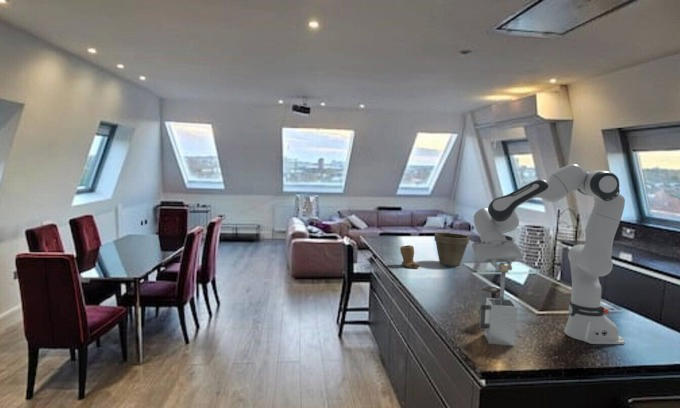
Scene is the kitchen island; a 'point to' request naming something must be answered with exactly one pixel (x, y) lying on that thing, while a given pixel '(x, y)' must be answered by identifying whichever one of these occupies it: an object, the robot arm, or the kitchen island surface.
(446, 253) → the plant pot
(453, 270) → the kitchen island surface
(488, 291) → the coffee box
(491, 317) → the press
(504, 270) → the plunger
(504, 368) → the kitchen island surface
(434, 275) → the kitchen island surface
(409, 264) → the brown boot
